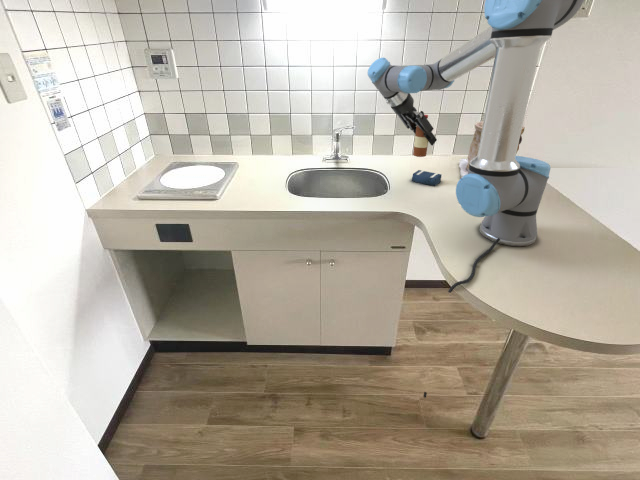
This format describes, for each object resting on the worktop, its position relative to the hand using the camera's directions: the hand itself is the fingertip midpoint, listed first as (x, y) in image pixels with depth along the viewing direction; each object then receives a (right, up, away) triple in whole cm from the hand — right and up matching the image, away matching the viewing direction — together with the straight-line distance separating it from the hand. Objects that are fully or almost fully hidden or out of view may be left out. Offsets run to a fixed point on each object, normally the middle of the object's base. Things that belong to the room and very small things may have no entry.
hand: (428, 140), depth 135 cm
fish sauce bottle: (-3, -5, +1) cm, 6 cm away
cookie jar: (+32, -9, +18) cm, 38 cm away
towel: (+2, -14, +10) cm, 17 cm away
